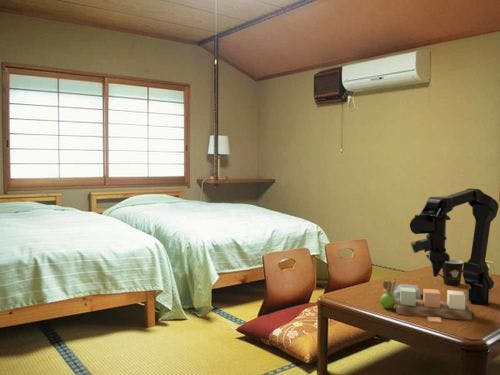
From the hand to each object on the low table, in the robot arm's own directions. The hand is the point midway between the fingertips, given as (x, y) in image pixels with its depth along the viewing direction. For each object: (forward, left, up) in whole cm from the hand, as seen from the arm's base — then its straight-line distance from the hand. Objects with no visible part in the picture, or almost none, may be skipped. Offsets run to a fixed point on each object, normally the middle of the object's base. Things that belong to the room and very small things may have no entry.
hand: (435, 276), depth 158 cm
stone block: (+9, -18, -13) cm, 24 cm away
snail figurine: (+16, +1, -13) cm, 20 cm away
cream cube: (-7, +1, -10) cm, 12 cm away
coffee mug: (-10, -40, -13) cm, 44 cm away
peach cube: (+1, +1, -10) cm, 10 cm away
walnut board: (+1, +1, -13) cm, 13 cm away
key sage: (+9, +1, -10) cm, 14 cm away
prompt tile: (+1, +10, -13) cm, 16 cm away
